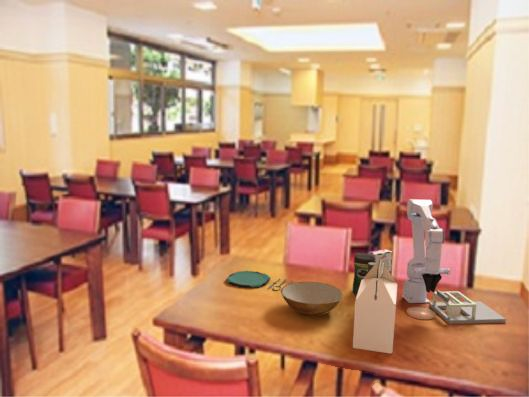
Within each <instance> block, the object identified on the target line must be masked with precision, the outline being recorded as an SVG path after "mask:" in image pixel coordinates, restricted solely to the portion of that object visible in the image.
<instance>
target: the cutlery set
mask: <svg viewBox="0 0 529 397" xmlns="http://www.w3.org/2000/svg"><path fill="white" fill-rule="evenodd" d="M270 279H271V276H269V275H268V274H267V273H263V272H258V271H253V270H238V271H236V272H233V273H230V274H229V276H228V277H227V278H226V282H227V283H228V284H229V283H231V284H233V285H236V286H239V287H240V286H241V287H246V288H247V287H249V288H250V287H251V288H253V289H254V287H255V288H260V287H261V286H264V285H266V284H268V283H269V282H270ZM279 281H281V279H280V278H278V279H277V280H276V281H274V282H272V284H271V285H269V286H268V287H267V290H268V289H269V290H270V289H271V288H272V290H273V291H275V288H274V287H276V288H279V287H280V288H279V289H277V291H279V290H280V289H282V287H281V286H282V285H283V284H284V283H285V282H286V281H287V278H285V279H283V281H282V282H280V284H279V285H277V283H278V282H279ZM292 282H293V283H294V280H290V282H289V283H288V284H292ZM274 284H275V285H276V286H275V285H274Z"/></svg>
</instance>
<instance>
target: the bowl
mask: <svg viewBox="0 0 529 397" xmlns="http://www.w3.org/2000/svg"><path fill="white" fill-rule="evenodd" d="M280 291H281V292H280V293H281V296H282V298H283V299H284V301H285V303H287V305H288V306H289V307H290V308H291V309H292V310H294V311H295V312H296V313H299V314H301V315H303V316H307V317H319V316H322V315H325V314H327V313H329V312H331V311H333V310H334V309H335V308H336V307H338V305H339V304H340V303H341V301H342V299H343V297H344V292H343V290H341V289H340V288H339V287H336V286H335V285H332V284H329V283H324V282H318V281H299V282H293V283H291V284H289V283H288V284H287V285H286V284H285V286H283V287H281V288H280Z"/></svg>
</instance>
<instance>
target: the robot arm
mask: <svg viewBox="0 0 529 397" xmlns="http://www.w3.org/2000/svg"><path fill="white" fill-rule="evenodd" d="M433 207H434V205H433V201H432V200H431V199H413V198H409V199H408V201H407V204H406V215H407V219H408V220H409V221H411V228H412V229H411V231H412V249H413V250H412V252H413V258H411V259H409V261H408V262H407V263H406V264H407V265H406V266H407V268H406V277H407V278H408V279H406V280H404V281H403V290H402V296H401V297H402V298H403V299H404V300H405V301H406V302H407V303H408V304H426V303H427V304H428V303H431V301H430V300H429V299H428V298H427V294H428V293H430V292H432V293H434V292H436V291H435V290H436V289H437V286H438V284H439V282H440V281H441V280H442V278H443V276H442V275H451V269H450V268H445V267H441V260H442V259H441V258H442V250H443V249H442V247H443V245H444V243H445V242H446V234H445V230H444V229H443V228H442V227H441V228H440V226H439V224H438V221H437V219H436V218H434V217H433V215H432V212H433Z"/></svg>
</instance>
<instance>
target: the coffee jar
mask: <svg viewBox="0 0 529 397" xmlns="http://www.w3.org/2000/svg"><path fill="white" fill-rule="evenodd" d="M370 262H373V263H376V260H375V255H372V254H368V253H364V252H363V253H362V252H357V253H355V255H354V258H353V266H354V273H353V281H352V290H351V294H353V295H354V296H357V293H358V290H359V287H360V283H361V280H362V279H363V278H364V277H365V276H366V275H367V272H368V263H370Z"/></svg>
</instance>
